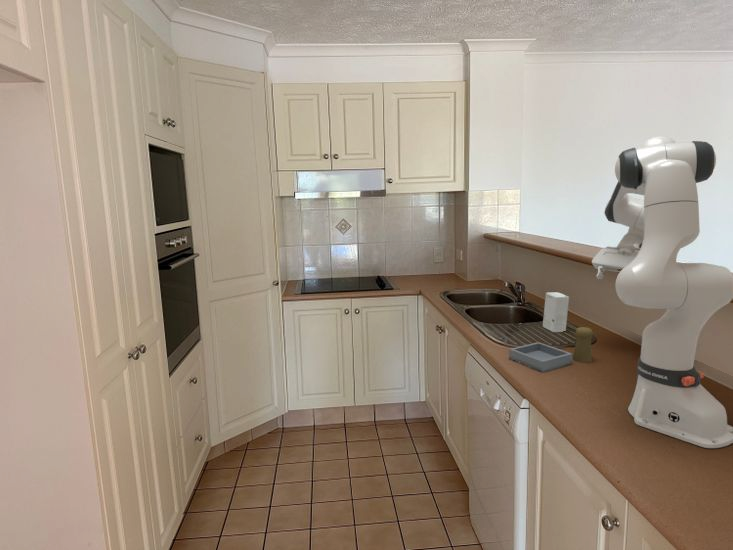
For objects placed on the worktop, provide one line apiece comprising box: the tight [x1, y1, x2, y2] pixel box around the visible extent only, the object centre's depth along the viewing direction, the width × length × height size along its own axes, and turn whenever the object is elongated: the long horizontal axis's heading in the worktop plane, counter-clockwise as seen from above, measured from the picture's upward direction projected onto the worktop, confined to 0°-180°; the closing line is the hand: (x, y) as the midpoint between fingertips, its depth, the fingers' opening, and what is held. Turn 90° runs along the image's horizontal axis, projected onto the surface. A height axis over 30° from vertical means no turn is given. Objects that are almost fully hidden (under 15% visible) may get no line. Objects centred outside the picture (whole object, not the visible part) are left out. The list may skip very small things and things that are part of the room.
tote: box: [508, 341, 574, 373], centre depth 156 cm, size 14×14×4 cm
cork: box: [572, 326, 594, 364], centre depth 156 cm, size 6×6×11 cm
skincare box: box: [542, 291, 570, 333], centre depth 189 cm, size 8×6×15 cm
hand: (611, 280), depth 158 cm, fingers open, 8 cm apart
